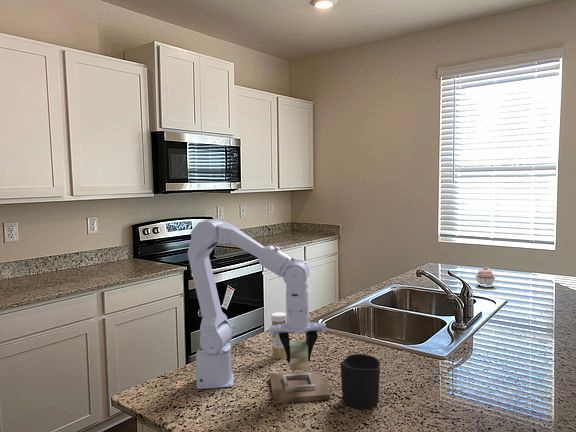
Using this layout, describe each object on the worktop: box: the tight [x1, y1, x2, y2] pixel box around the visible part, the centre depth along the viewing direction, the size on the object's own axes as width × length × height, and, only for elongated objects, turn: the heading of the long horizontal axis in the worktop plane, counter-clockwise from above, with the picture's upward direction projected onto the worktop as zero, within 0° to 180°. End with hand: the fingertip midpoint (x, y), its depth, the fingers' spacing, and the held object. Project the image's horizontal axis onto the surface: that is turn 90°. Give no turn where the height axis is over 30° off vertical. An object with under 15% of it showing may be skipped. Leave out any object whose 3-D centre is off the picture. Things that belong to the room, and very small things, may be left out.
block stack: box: [288, 339, 309, 371], centre depth 116 cm, size 4×4×6 cm
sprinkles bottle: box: [271, 311, 287, 360], centre depth 138 cm, size 5×5×14 cm
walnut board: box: [269, 370, 331, 404], centre depth 117 cm, size 14×14×2 cm
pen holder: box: [340, 353, 381, 410], centre depth 109 cm, size 9×9×10 cm
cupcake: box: [475, 266, 496, 286], centre depth 222 cm, size 9×9×10 cm
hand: (298, 360), depth 116 cm, fingers closed on block stack, 4 cm apart
